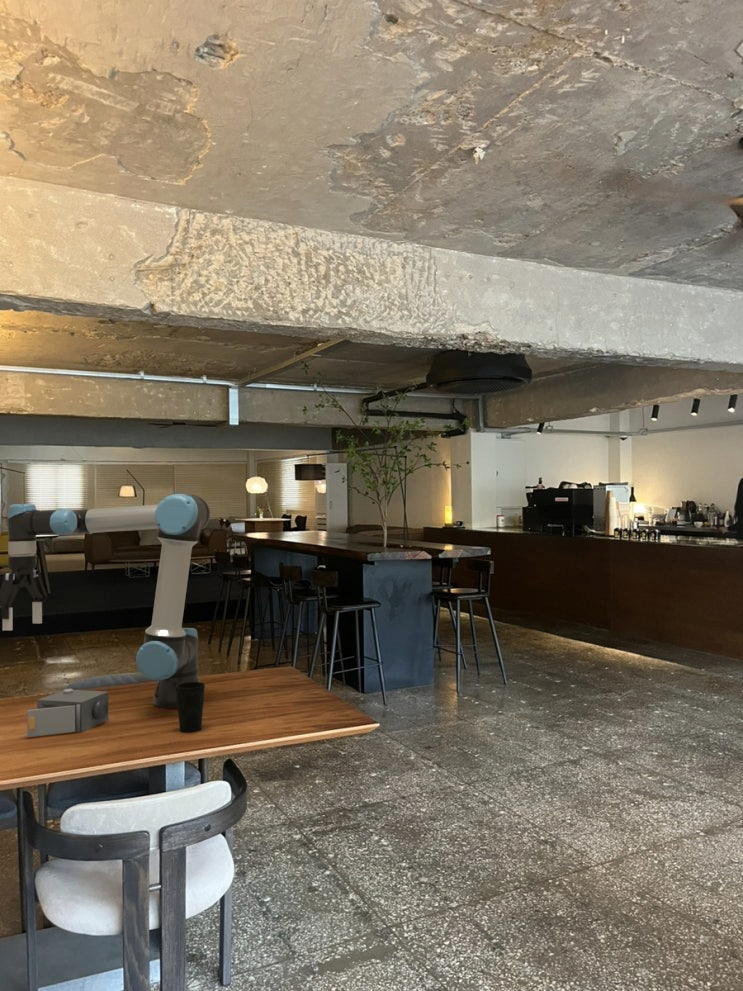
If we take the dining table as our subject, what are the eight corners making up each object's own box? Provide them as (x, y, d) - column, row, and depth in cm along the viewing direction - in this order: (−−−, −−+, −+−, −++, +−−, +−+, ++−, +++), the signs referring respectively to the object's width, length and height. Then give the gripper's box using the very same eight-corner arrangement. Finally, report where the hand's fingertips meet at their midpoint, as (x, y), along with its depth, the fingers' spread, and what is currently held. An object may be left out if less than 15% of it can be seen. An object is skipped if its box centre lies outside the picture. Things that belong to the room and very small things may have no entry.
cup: (178, 735, 190) (177, 689, 190) (173, 727, 197) (173, 683, 197) (207, 731, 193) (207, 686, 193) (202, 724, 200) (202, 680, 200)
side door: (75, 730, 193) (75, 705, 194) (75, 732, 192) (74, 706, 192) (27, 736, 189) (27, 710, 189) (27, 737, 188) (27, 711, 188)
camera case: (113, 720, 205) (113, 689, 205) (84, 733, 192) (84, 700, 192) (66, 717, 209) (65, 686, 209) (34, 730, 196) (34, 697, 196)
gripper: (37, 553, 229) (37, 620, 228) (-19, 558, 204) (-18, 633, 203) (58, 553, 227) (59, 620, 227) (5, 557, 203) (5, 633, 202)
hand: (22, 626), depth 215 cm, fingers open, 13 cm apart
